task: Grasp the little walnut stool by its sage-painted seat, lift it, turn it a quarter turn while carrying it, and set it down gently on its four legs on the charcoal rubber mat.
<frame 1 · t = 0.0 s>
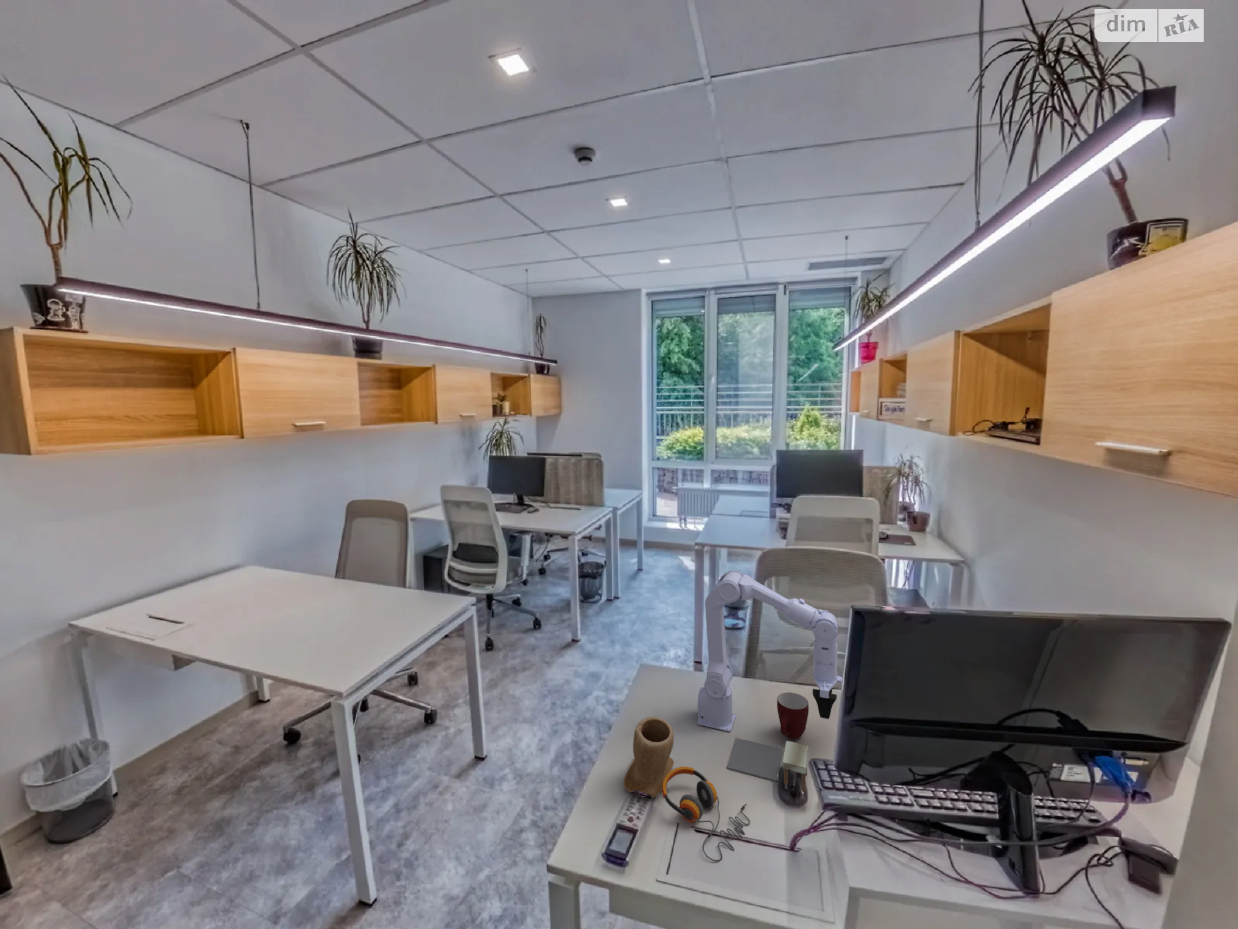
hand: (824, 709, 127), 10 cm above the table, tool pointing down, fingers open, 7 cm apart
stool: (795, 781, 116), on the table
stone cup: (652, 779, 118), on the table
mat: (755, 759, 123), on the table
mug: (791, 738, 131), on the table
headphones: (703, 816, 107), on the table
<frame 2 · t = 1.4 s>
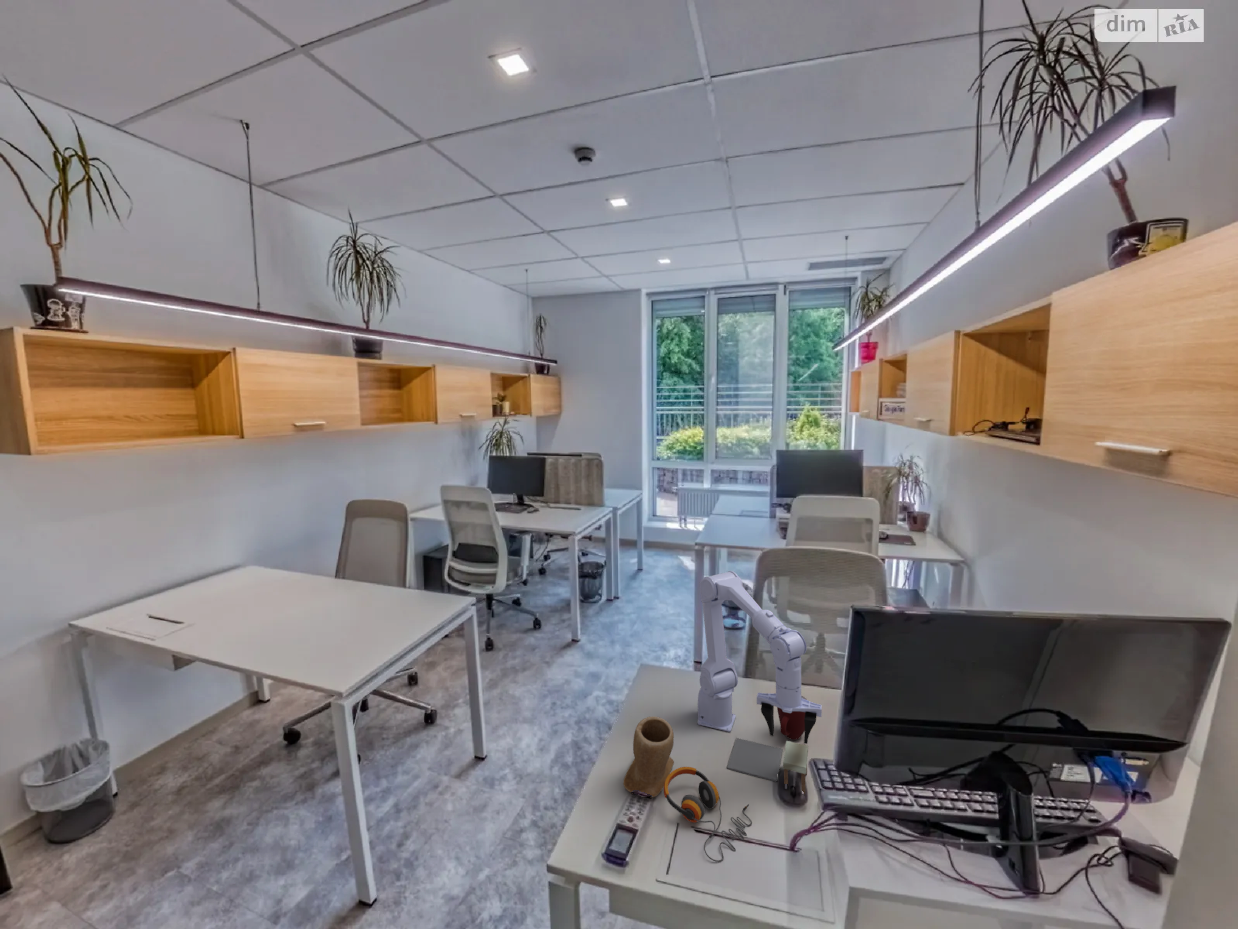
hand: (788, 737, 116), 11 cm above the table, tool pointing down, fingers open, 7 cm apart
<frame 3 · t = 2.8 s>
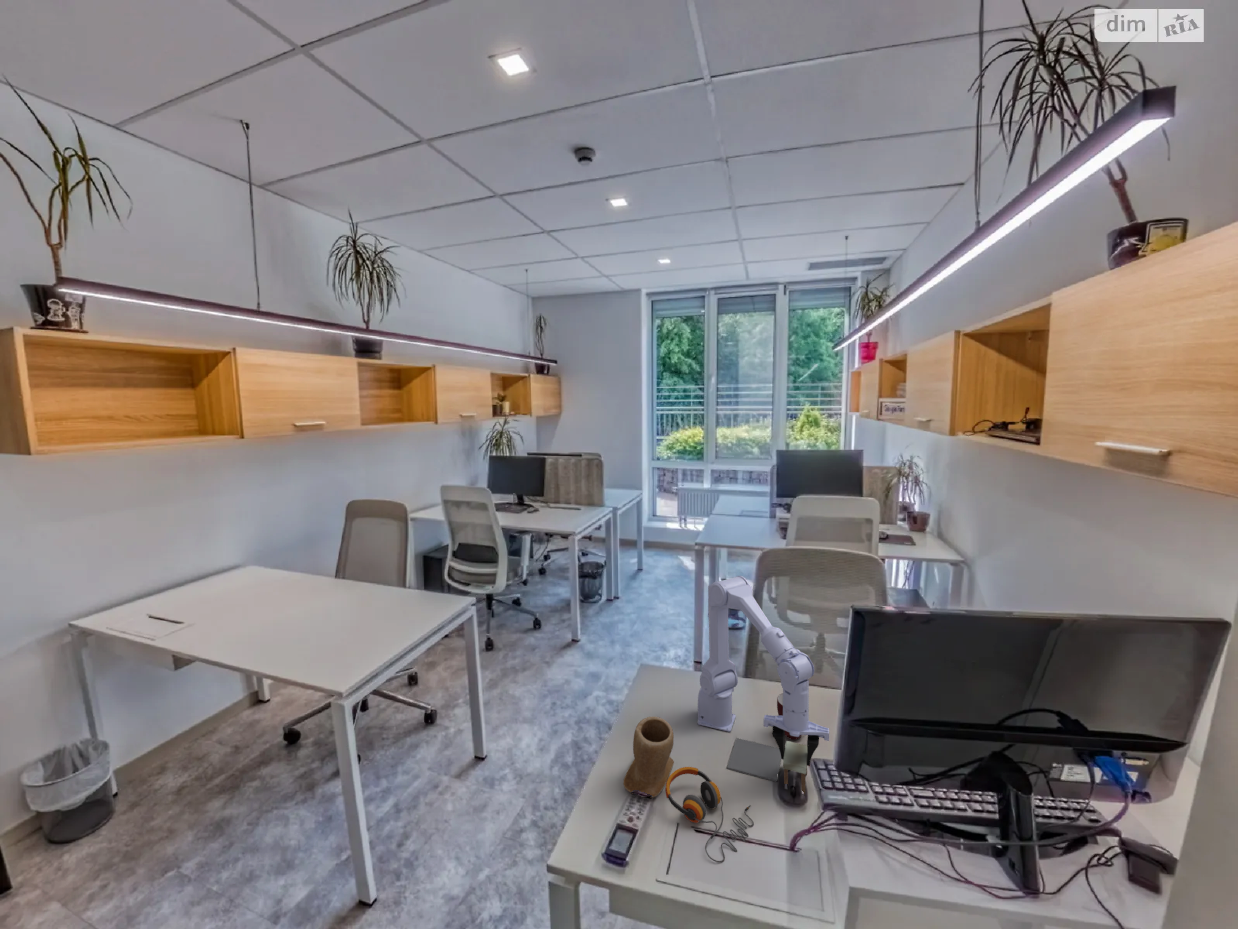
hand: (795, 760, 115), 5 cm above the table, tool pointing down, fingers closed on stool, 5 cm apart
stool: (795, 781, 116), on the table, touching gripper
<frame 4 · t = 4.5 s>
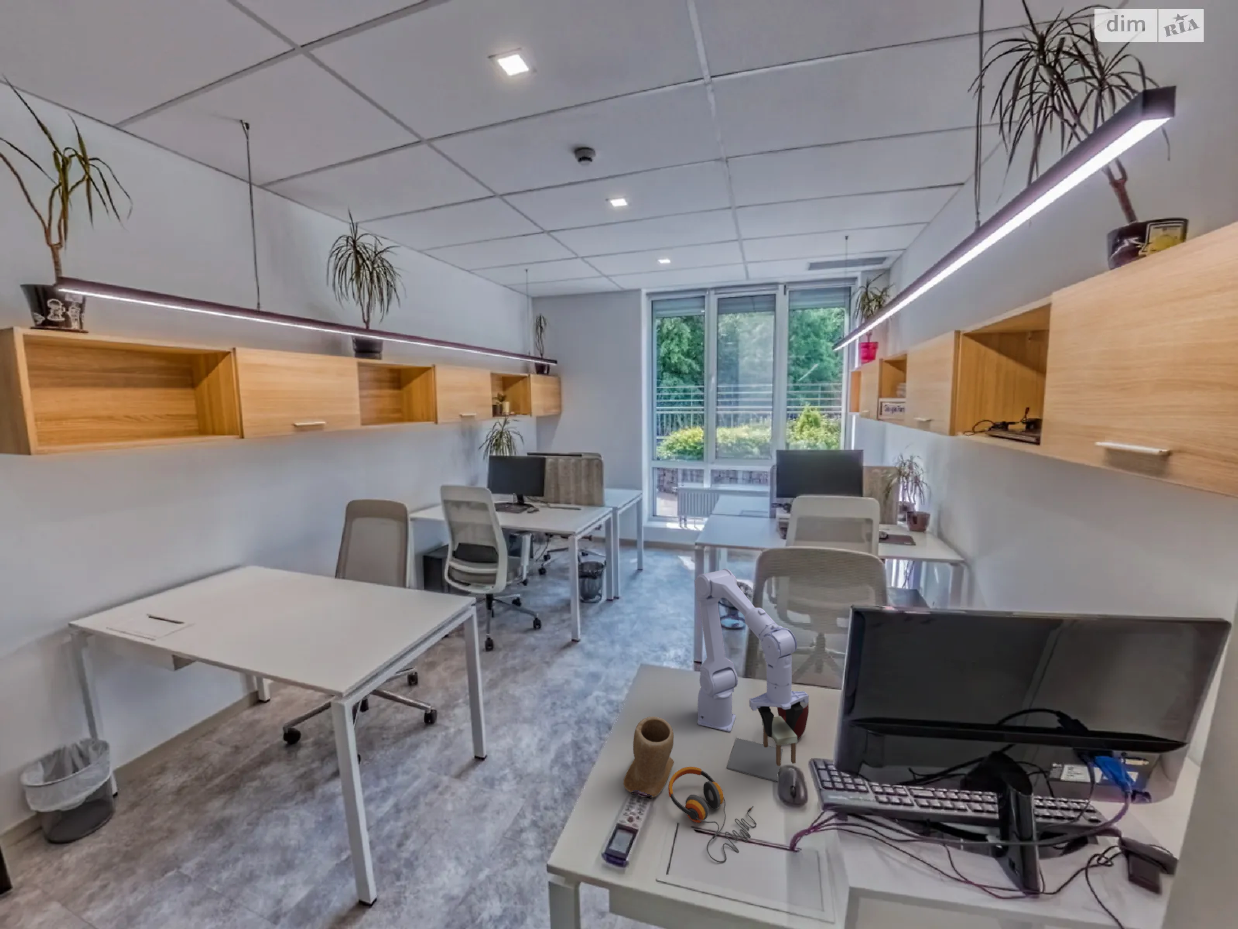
hand: (779, 732, 118), 10 cm above the table, tool pointing down, fingers closed on stool, 5 cm apart
stool: (779, 754, 118), point 5 cm above the table, touching gripper
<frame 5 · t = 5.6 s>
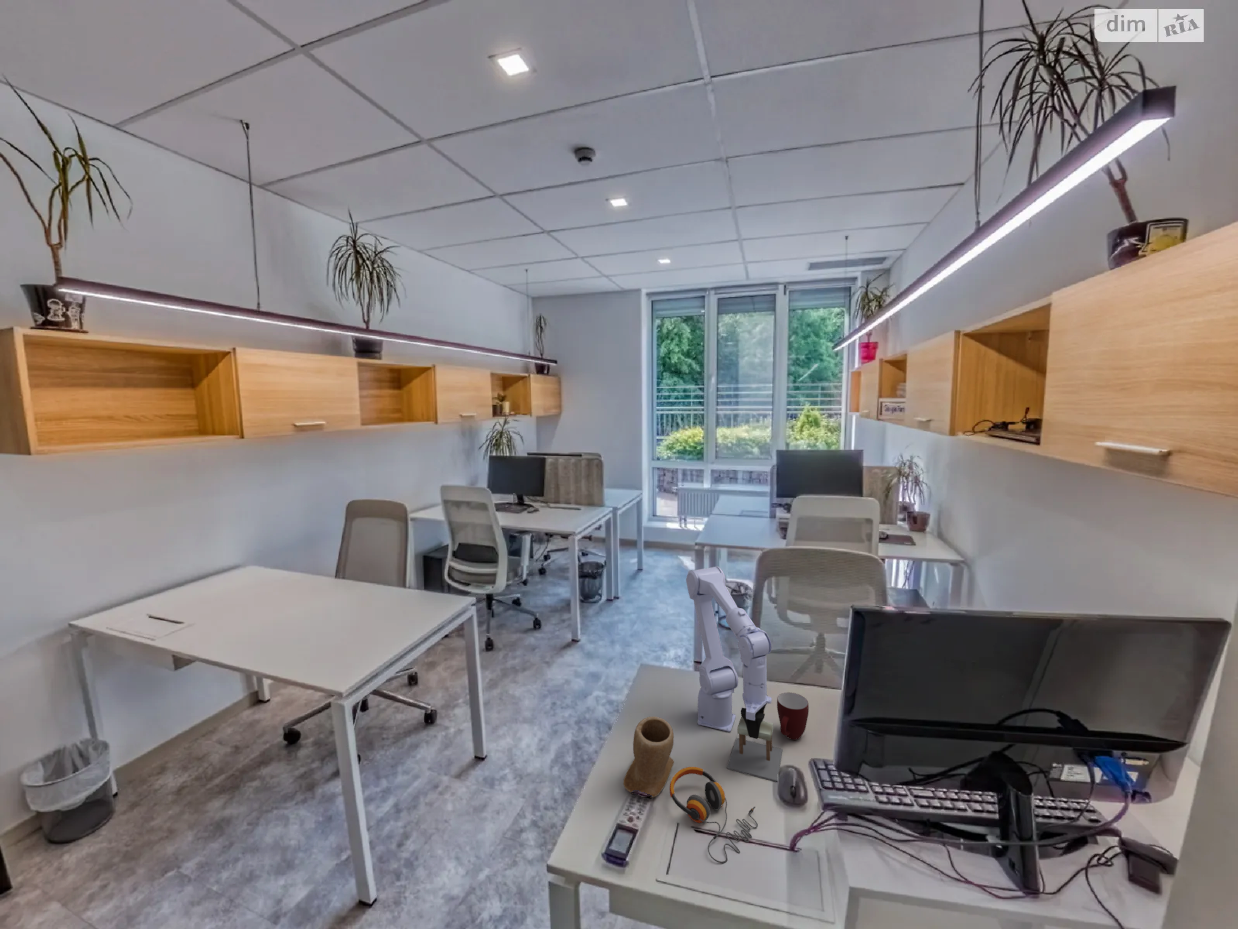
hand: (755, 730, 123), 8 cm above the table, tool pointing down, fingers closed on stool, 5 cm apart
stool: (755, 751, 123), point 2 cm above the table, touching gripper
when the fingers open (7 cm above the table, at t = 6.3 s): stool stays where it is, resting on mat.
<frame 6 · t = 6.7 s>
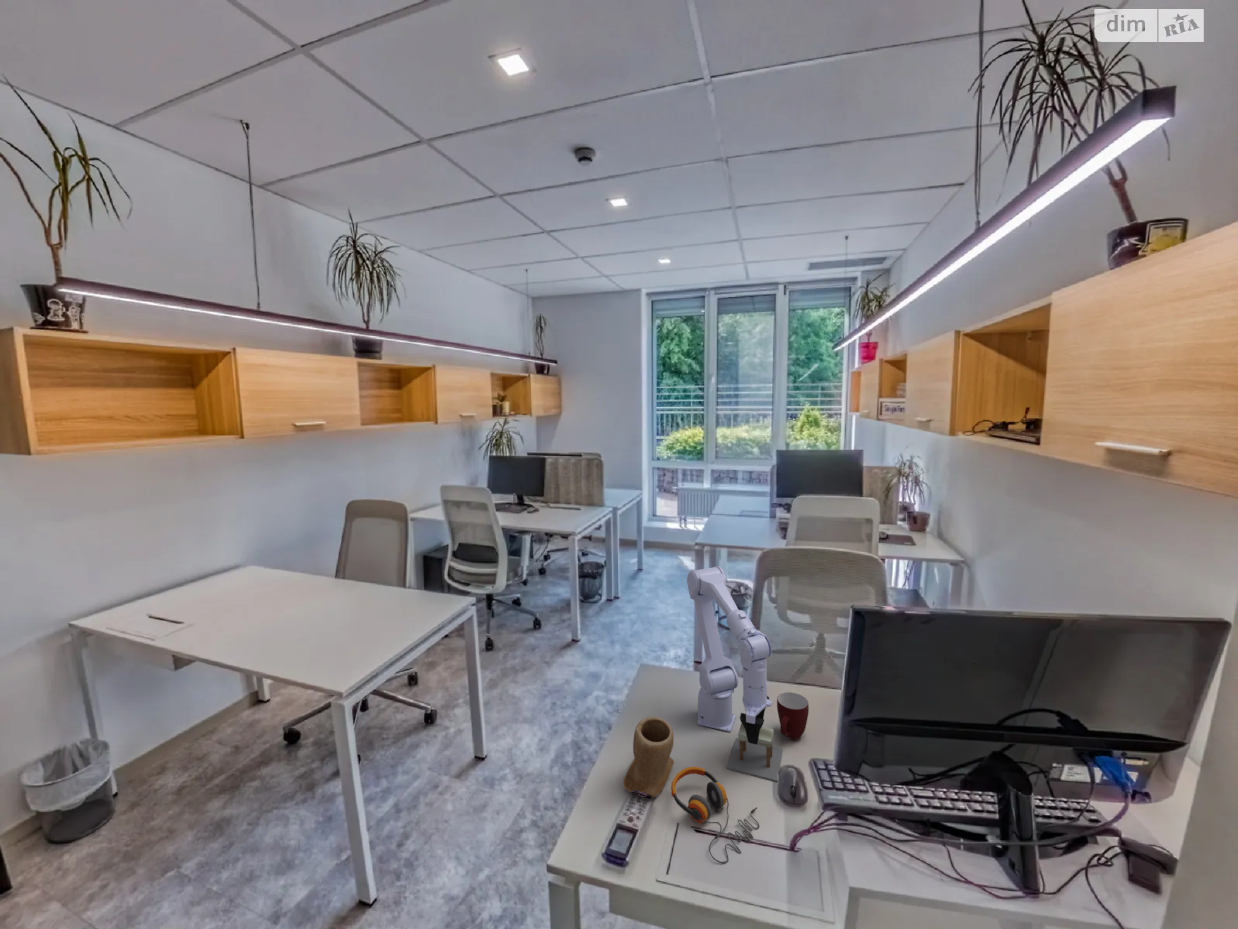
hand: (755, 733, 123), 7 cm above the table, tool pointing down, fingers open, 7 cm apart
stool: (756, 757, 123), resting on mat
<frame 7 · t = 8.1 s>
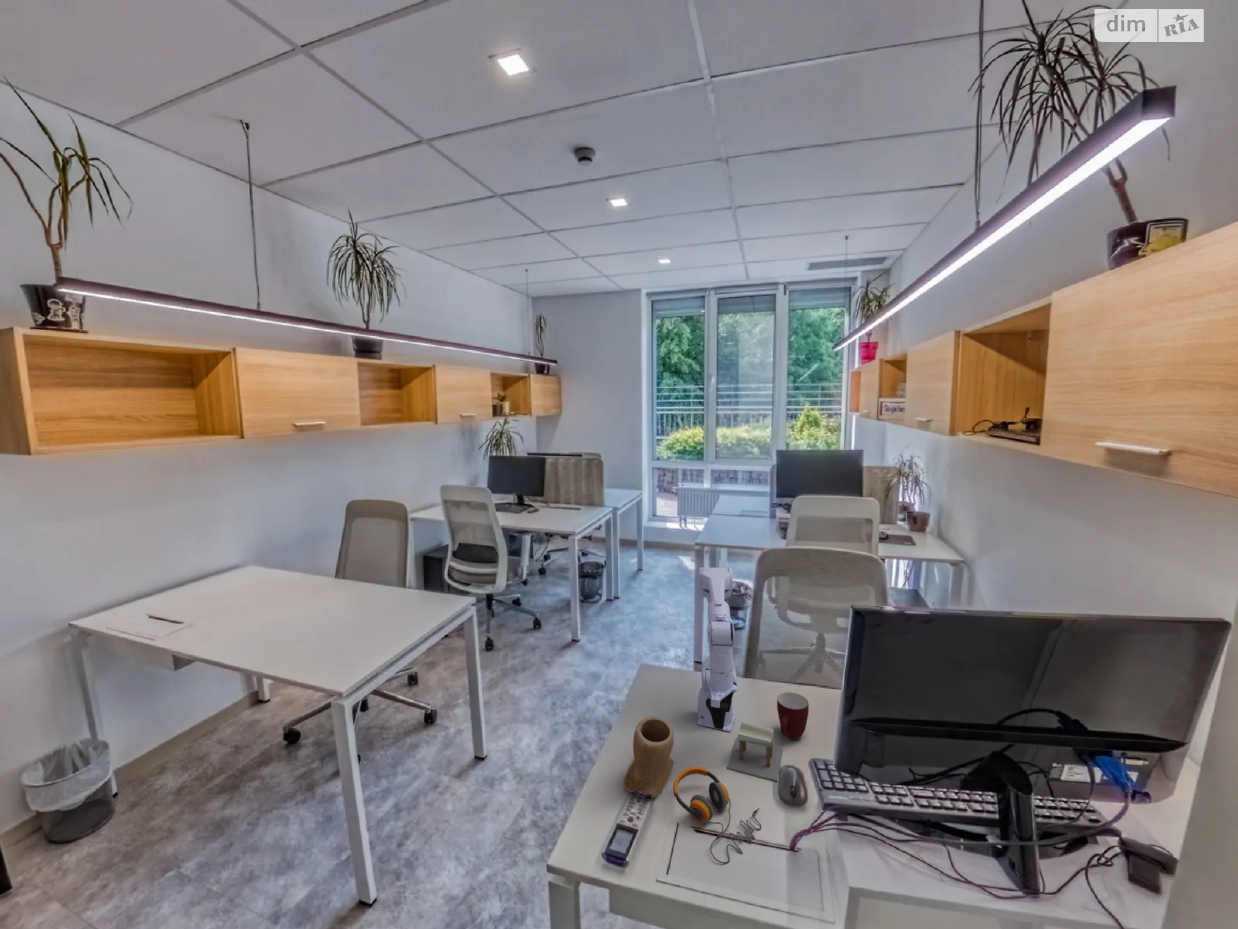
hand: (722, 719, 124), 10 cm above the table, tool pointing down, fingers open, 7 cm apart
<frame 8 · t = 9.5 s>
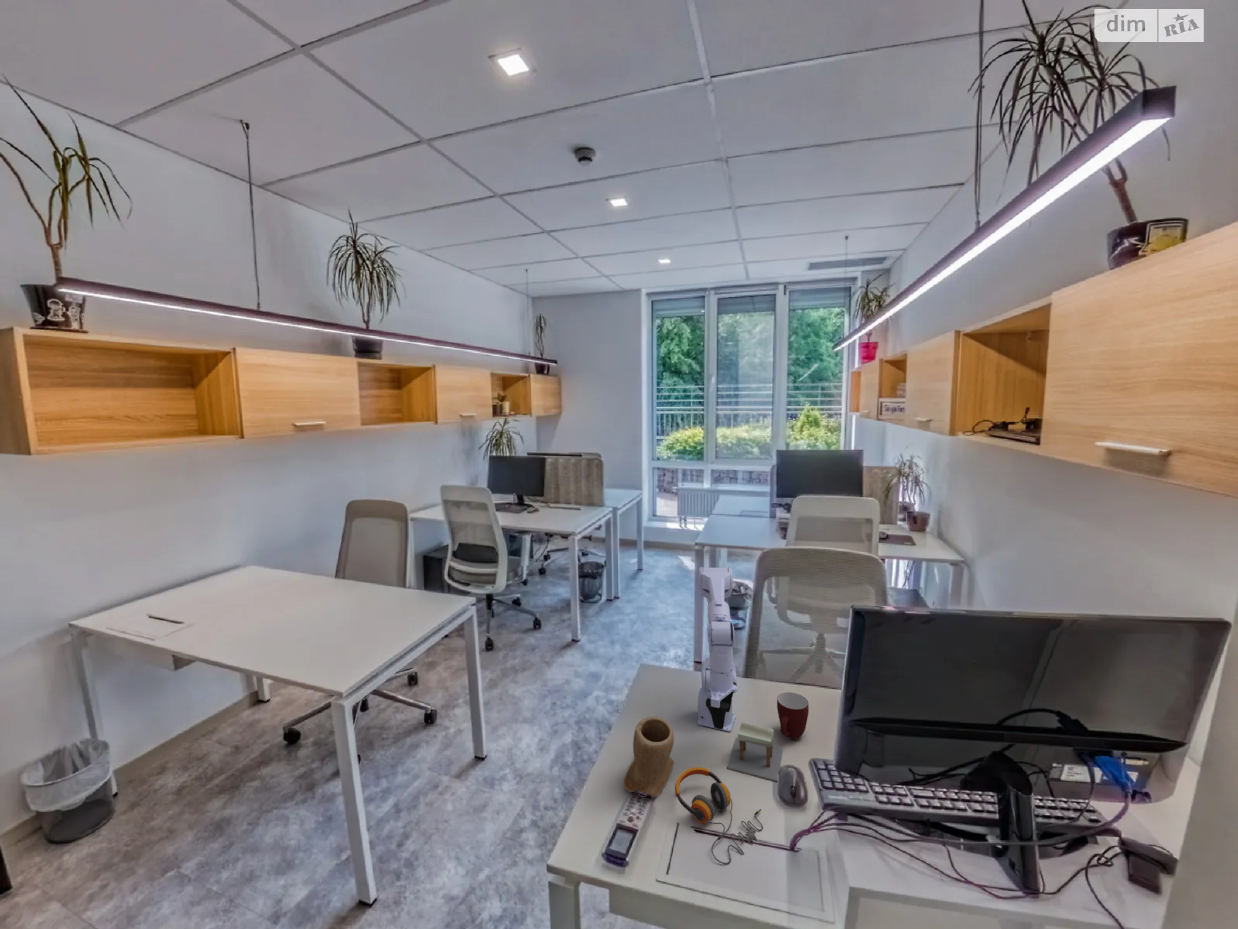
hand: (722, 719, 124), 10 cm above the table, tool pointing down, fingers open, 7 cm apart
at the end: stool 0.1 cm off-centre on the mat, point 0.4 cm above the mat's base; stool tilted 0°; the gripper is holding nothing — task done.
